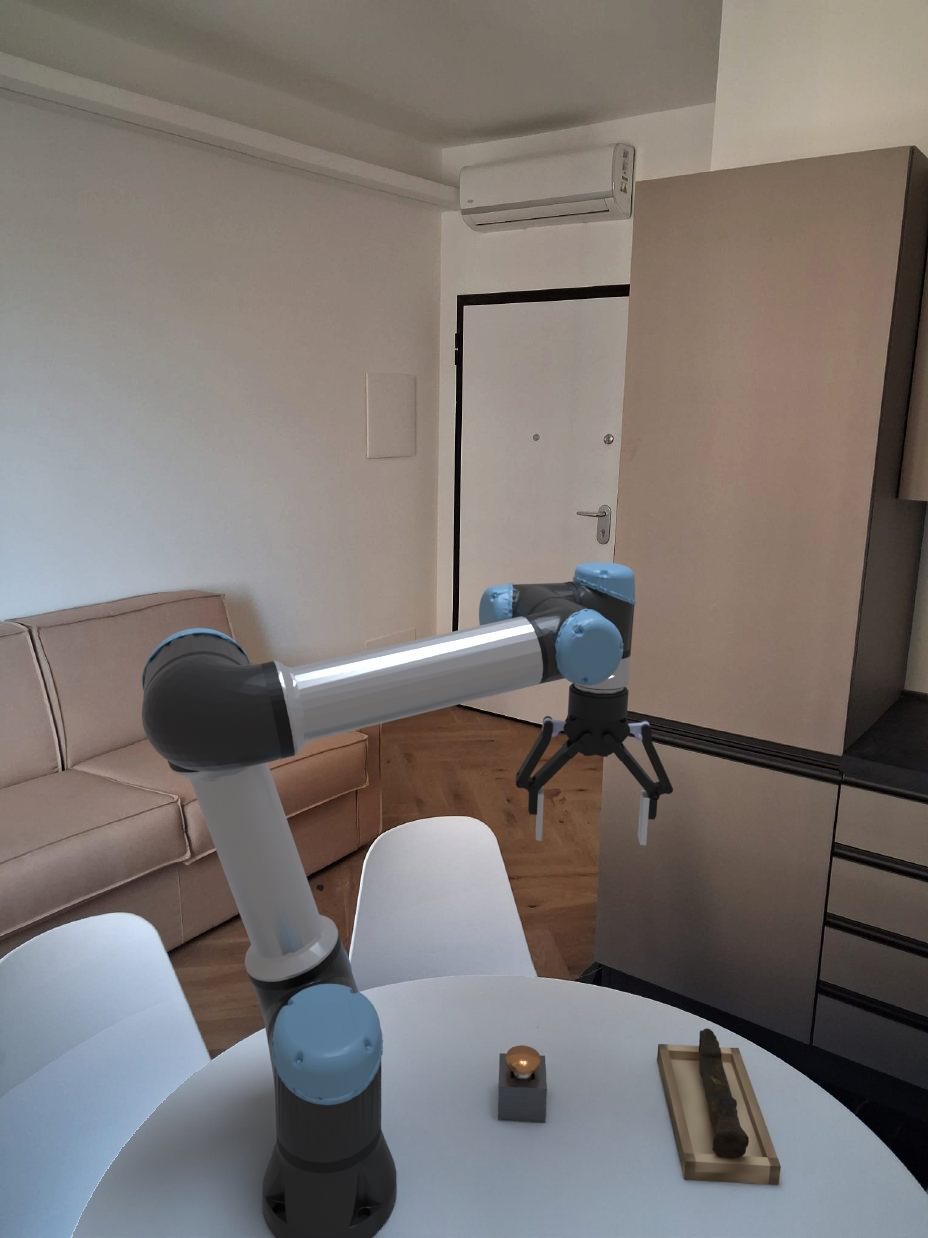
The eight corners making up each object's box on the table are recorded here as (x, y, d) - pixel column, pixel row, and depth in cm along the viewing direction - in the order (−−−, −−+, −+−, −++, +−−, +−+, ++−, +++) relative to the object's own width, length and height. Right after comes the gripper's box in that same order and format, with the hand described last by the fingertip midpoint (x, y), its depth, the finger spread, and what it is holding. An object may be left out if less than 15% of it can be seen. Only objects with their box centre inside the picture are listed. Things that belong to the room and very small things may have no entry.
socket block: (497, 1120, 114) (499, 1086, 113) (498, 1085, 120) (499, 1053, 119) (545, 1123, 114) (546, 1089, 113) (543, 1088, 120) (545, 1055, 119)
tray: (683, 1179, 106) (685, 1161, 106) (657, 1060, 126) (658, 1044, 125) (778, 1185, 106) (780, 1166, 105) (736, 1064, 125) (738, 1048, 124)
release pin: (504, 1114, 115) (505, 1068, 114) (504, 1089, 119) (506, 1044, 118) (538, 1116, 115) (541, 1070, 113) (537, 1091, 119) (539, 1046, 118)
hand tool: (747, 1163, 105) (751, 1130, 104) (712, 1159, 106) (715, 1125, 105) (723, 1052, 124) (726, 1023, 123) (693, 1049, 124) (696, 1019, 123)
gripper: (500, 690, 112) (495, 847, 116) (704, 697, 110) (690, 856, 115) (501, 673, 119) (496, 821, 124) (692, 679, 118) (679, 829, 123)
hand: (590, 838), depth 119 cm, fingers open, 13 cm apart
